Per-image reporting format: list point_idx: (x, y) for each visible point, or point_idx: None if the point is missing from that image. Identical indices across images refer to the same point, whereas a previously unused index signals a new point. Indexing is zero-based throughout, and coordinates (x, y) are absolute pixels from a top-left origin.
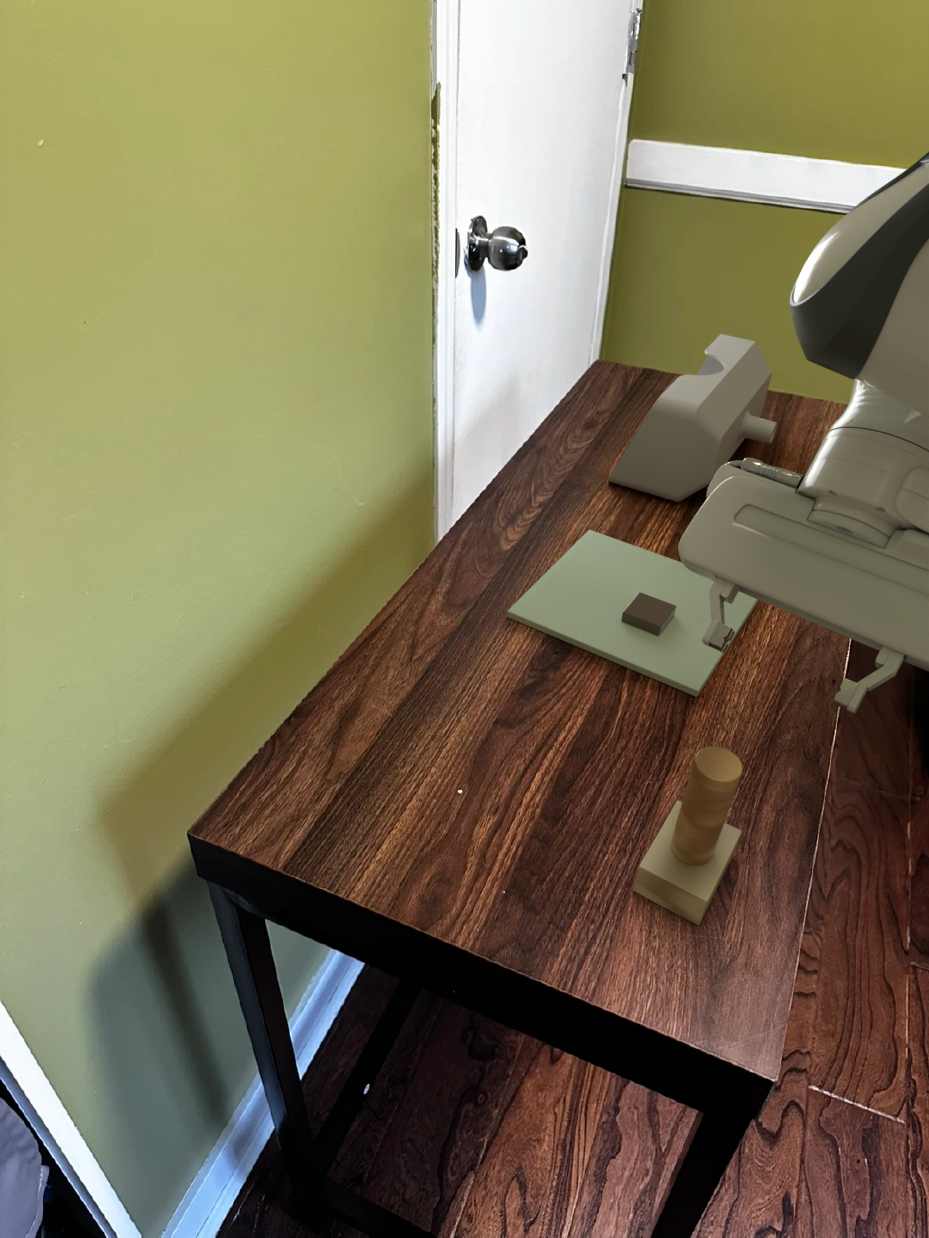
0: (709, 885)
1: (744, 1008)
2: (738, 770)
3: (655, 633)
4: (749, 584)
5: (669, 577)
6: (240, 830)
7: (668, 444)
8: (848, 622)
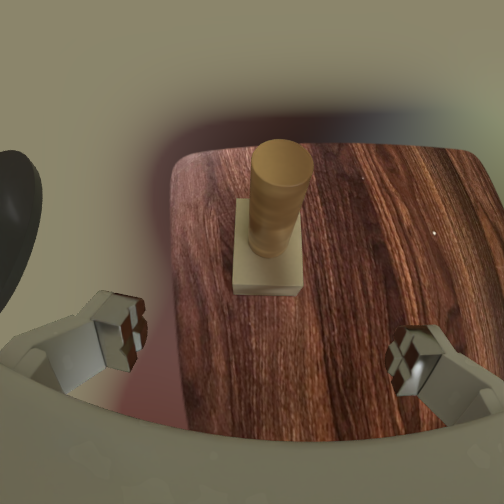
0: (240, 212)
1: (190, 180)
2: (256, 161)
3: None
4: (487, 417)
5: None
6: (469, 158)
7: None
8: (102, 419)
